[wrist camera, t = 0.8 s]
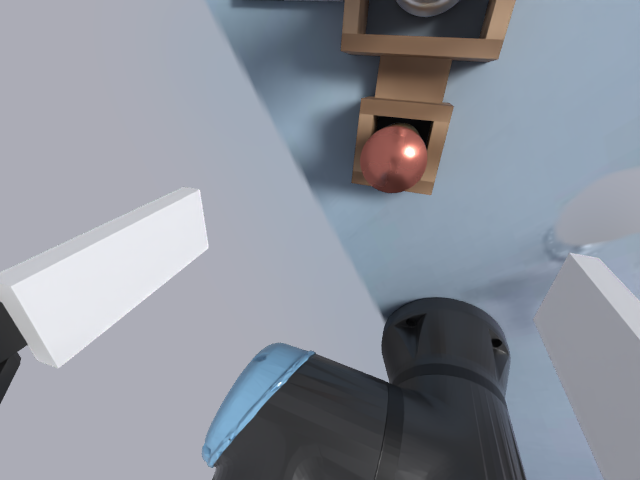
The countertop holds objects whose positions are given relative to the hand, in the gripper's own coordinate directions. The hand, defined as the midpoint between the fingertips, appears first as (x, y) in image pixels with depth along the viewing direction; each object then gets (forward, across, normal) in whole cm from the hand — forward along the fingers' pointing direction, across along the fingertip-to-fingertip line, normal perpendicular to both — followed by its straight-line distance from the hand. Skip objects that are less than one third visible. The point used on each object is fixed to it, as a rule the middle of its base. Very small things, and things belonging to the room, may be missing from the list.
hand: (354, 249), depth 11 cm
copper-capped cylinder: (+20, 0, 0) cm, 20 cm away
